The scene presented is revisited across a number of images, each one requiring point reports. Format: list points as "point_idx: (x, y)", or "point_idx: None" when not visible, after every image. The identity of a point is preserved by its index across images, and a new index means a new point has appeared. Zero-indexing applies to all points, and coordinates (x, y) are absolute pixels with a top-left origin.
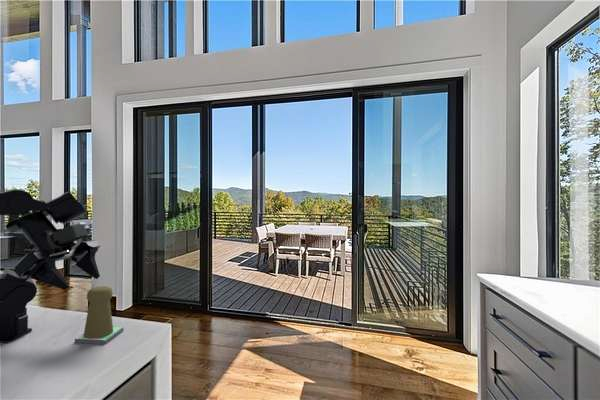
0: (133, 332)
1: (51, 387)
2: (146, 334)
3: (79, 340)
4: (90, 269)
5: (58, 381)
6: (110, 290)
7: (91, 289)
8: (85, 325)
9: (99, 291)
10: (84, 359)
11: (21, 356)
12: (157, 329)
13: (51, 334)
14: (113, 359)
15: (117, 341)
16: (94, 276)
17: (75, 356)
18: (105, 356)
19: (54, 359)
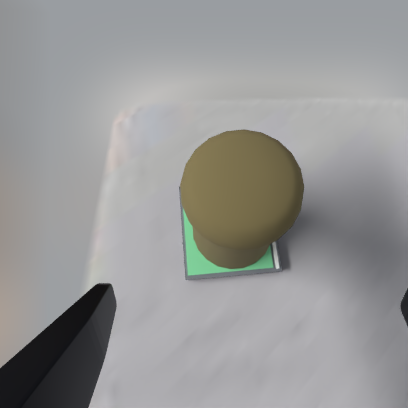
0: (184, 157)
1: None
2: (189, 119)
3: (278, 256)
4: (66, 398)
5: None
6: (227, 131)
7: (281, 205)
8: (262, 251)
9: (285, 149)
10: (347, 174)
11: (393, 354)
12: (154, 109)
13: (250, 398)
14: (325, 113)
15: None
16: (107, 325)
17: (342, 207)
18: (319, 139)
19: (372, 246)
